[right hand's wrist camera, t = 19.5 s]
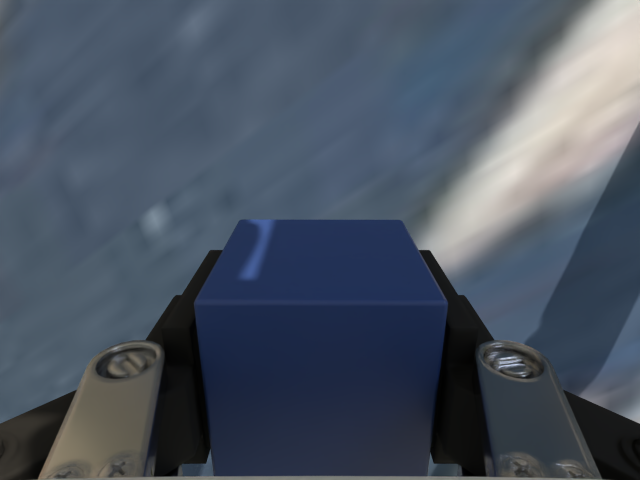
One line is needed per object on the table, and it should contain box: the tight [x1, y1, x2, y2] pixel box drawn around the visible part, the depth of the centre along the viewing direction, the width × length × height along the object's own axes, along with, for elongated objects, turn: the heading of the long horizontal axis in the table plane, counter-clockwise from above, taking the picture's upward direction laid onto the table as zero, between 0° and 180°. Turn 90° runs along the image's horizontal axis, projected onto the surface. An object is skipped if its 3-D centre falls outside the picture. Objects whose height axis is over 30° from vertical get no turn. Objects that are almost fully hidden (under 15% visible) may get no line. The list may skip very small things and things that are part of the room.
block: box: [194, 220, 448, 476], centre depth 10 cm, size 4×4×4 cm
